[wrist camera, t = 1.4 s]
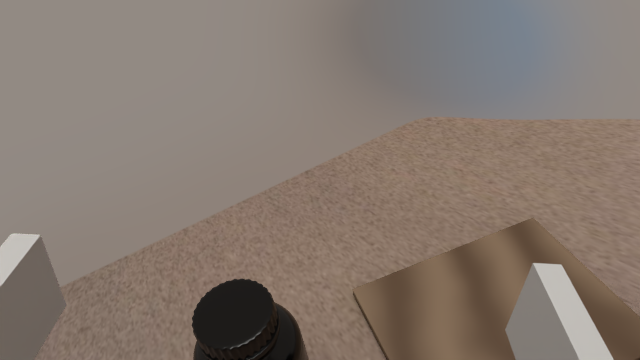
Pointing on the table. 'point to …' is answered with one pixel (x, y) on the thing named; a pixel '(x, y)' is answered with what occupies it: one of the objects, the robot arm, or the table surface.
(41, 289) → the robot arm
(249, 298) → the supplement bottle
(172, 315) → the table surface
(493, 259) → the board
